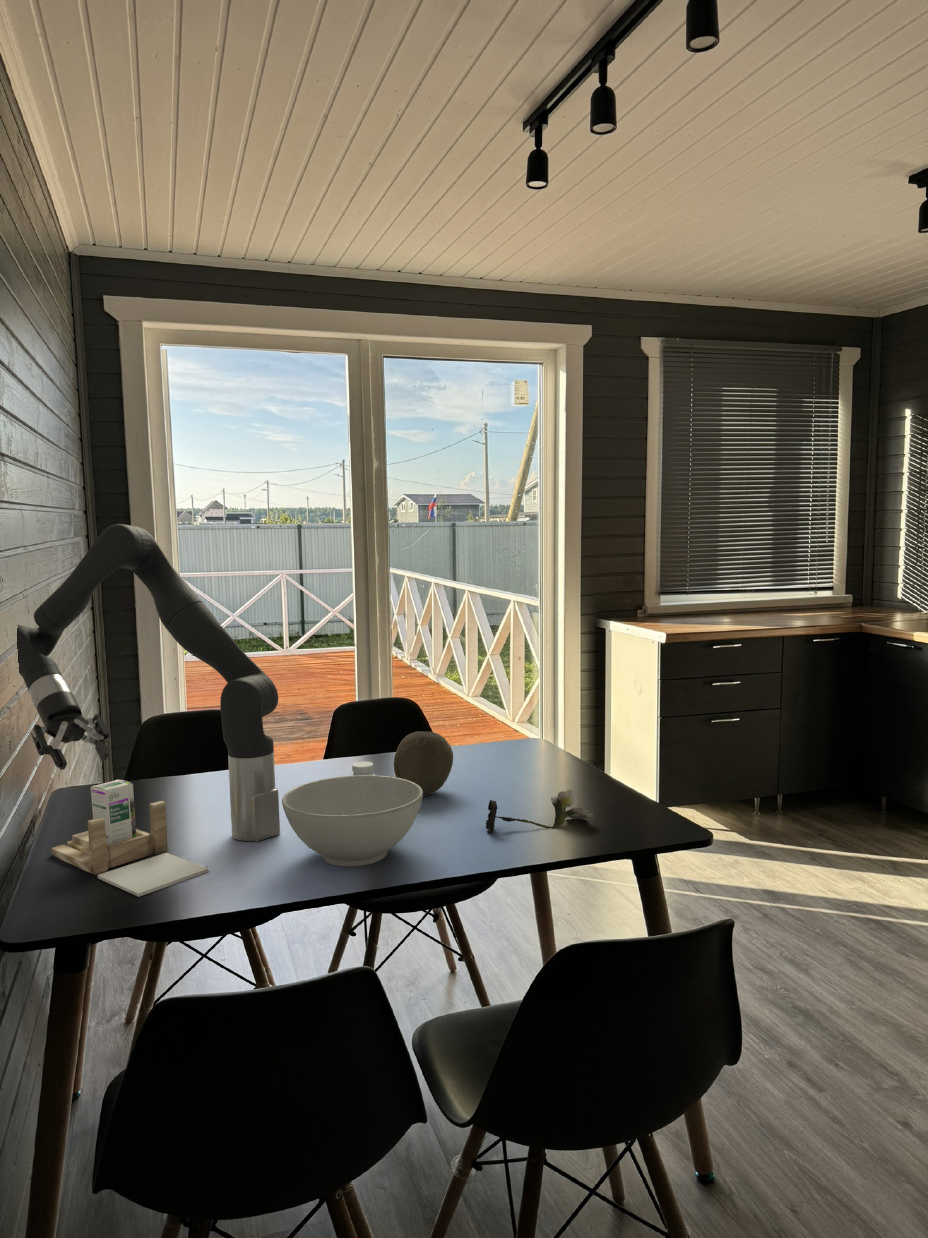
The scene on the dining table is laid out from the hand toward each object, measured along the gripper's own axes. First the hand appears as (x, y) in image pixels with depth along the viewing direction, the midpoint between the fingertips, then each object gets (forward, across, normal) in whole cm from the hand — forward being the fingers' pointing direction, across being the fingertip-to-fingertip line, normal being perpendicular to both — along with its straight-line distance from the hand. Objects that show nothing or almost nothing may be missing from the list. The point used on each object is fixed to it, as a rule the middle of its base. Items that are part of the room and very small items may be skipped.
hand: (85, 762), depth 172 cm
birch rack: (+18, 0, +6) cm, 19 cm away
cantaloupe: (+35, +66, -10) cm, 75 cm away
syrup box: (+20, 0, +5) cm, 20 cm away
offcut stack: (+14, 0, +10) cm, 17 cm away
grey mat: (+30, -1, -6) cm, 31 cm away
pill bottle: (+35, +46, -10) cm, 59 cm away
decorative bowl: (+46, +28, -22) cm, 58 cm away
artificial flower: (+60, +63, -35) cm, 94 cm away
